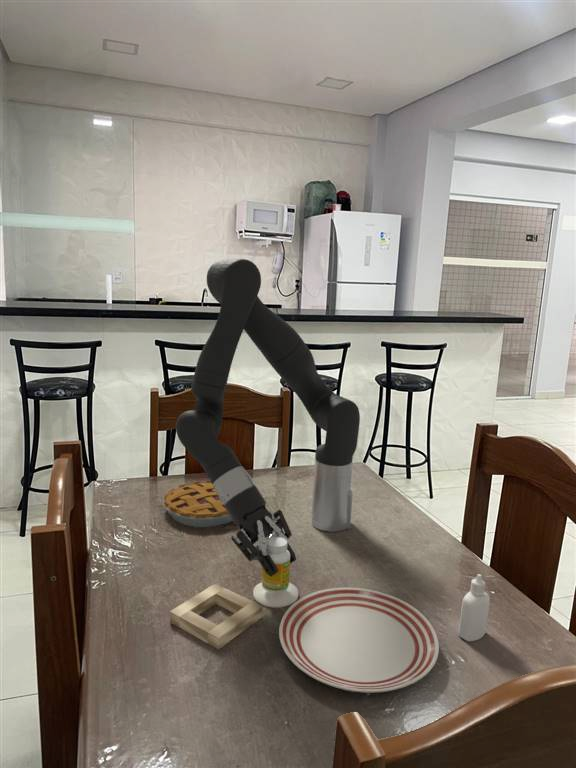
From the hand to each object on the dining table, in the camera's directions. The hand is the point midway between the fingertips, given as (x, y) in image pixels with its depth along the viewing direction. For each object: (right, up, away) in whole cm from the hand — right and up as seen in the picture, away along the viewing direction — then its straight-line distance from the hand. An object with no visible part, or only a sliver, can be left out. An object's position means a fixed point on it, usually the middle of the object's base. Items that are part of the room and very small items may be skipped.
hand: (283, 567), depth 115 cm
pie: (-21, +2, +39) cm, 44 cm away
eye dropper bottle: (+34, -10, -7) cm, 37 cm away
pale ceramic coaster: (-2, -6, +2) cm, 7 cm away
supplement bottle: (-2, -5, +2) cm, 5 cm away
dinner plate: (+13, -10, -12) cm, 20 cm away
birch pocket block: (-12, -8, -6) cm, 16 cm away
